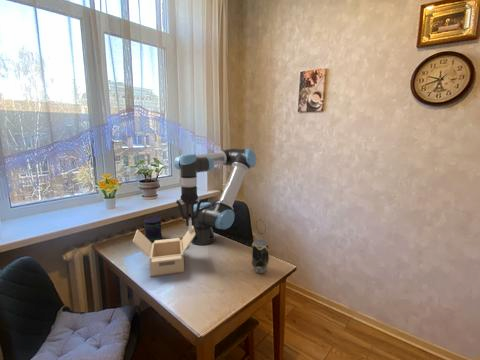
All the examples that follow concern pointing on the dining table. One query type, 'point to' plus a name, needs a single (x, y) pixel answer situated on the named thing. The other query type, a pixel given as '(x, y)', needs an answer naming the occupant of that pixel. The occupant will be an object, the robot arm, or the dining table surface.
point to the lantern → (260, 253)
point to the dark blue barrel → (153, 229)
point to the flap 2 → (188, 238)
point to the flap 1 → (142, 242)
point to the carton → (166, 257)
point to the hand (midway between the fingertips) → (190, 231)
